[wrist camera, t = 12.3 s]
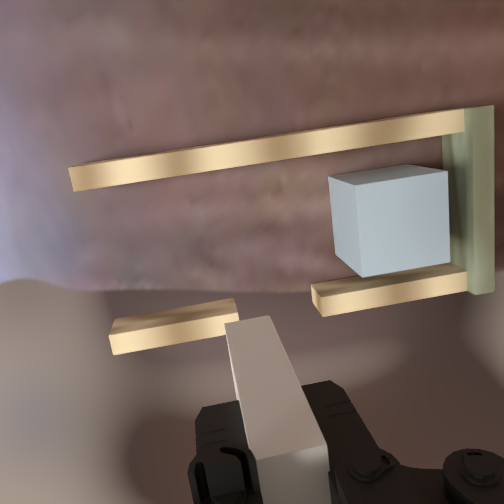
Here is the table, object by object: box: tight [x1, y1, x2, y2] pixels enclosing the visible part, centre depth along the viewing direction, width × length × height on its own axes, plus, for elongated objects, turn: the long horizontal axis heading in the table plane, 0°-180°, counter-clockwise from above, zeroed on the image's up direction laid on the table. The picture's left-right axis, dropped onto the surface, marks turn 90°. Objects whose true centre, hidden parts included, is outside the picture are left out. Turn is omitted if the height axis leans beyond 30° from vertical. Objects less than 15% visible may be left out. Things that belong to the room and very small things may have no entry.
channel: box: [68, 105, 495, 355], centre depth 33 cm, size 28×13×4 cm, turn 98°
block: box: [328, 164, 450, 278], centre depth 33 cm, size 6×6×6 cm
